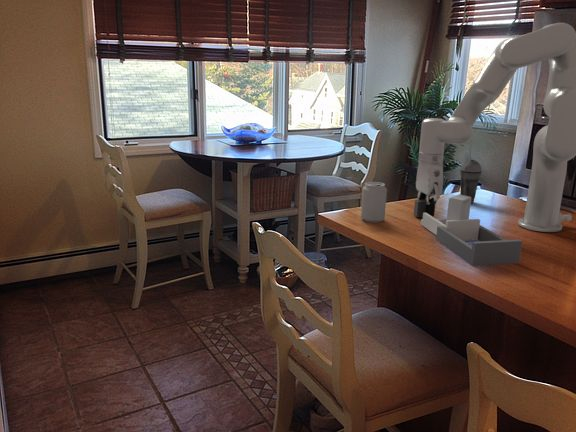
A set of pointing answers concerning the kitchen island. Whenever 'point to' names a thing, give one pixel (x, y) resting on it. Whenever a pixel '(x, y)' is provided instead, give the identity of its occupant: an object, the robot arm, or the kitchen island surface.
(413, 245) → the kitchen island surface
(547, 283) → the kitchen island surface
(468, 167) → the beverage cup
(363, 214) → the can
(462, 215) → the skincare box
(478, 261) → the tray
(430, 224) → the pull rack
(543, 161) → the robot arm
